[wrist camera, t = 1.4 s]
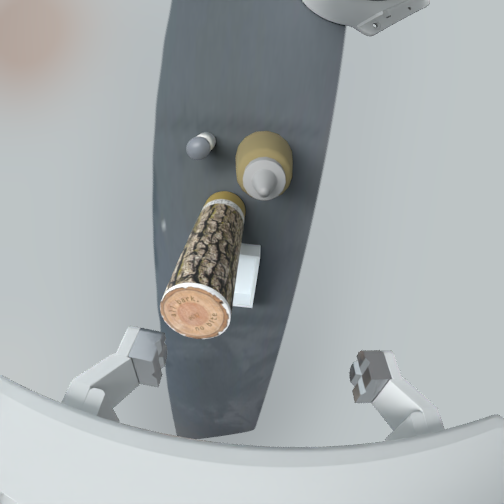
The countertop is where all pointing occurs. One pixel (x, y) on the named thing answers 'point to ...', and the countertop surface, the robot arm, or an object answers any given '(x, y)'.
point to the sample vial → (201, 145)
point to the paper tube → (207, 271)
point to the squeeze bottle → (264, 165)
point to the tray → (246, 275)
